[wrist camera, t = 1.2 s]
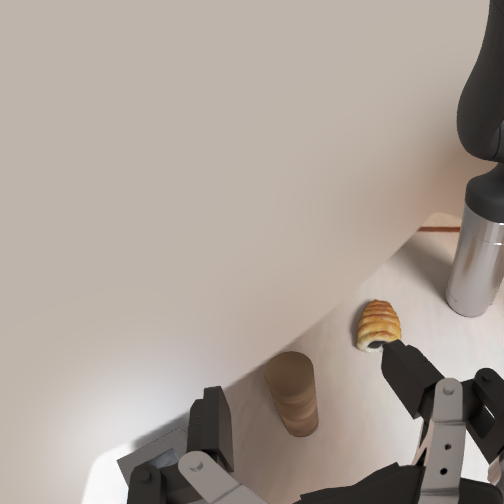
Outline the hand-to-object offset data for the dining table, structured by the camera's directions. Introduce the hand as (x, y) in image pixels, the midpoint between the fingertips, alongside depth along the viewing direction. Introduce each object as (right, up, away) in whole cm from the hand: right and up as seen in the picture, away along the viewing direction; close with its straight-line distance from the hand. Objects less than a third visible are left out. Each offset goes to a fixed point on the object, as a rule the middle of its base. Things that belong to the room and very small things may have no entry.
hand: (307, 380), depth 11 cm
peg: (+4, -15, +17) cm, 23 cm away
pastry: (+16, -6, +25) cm, 30 cm away
